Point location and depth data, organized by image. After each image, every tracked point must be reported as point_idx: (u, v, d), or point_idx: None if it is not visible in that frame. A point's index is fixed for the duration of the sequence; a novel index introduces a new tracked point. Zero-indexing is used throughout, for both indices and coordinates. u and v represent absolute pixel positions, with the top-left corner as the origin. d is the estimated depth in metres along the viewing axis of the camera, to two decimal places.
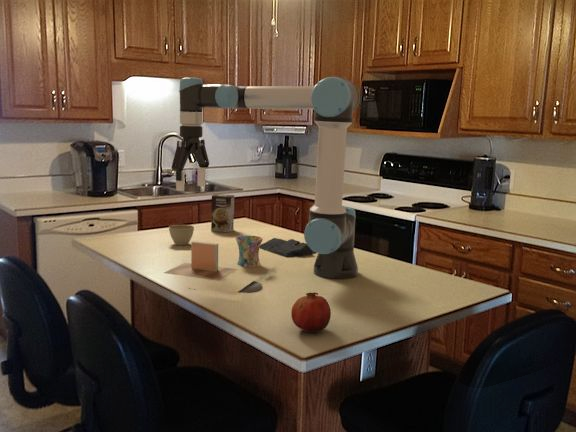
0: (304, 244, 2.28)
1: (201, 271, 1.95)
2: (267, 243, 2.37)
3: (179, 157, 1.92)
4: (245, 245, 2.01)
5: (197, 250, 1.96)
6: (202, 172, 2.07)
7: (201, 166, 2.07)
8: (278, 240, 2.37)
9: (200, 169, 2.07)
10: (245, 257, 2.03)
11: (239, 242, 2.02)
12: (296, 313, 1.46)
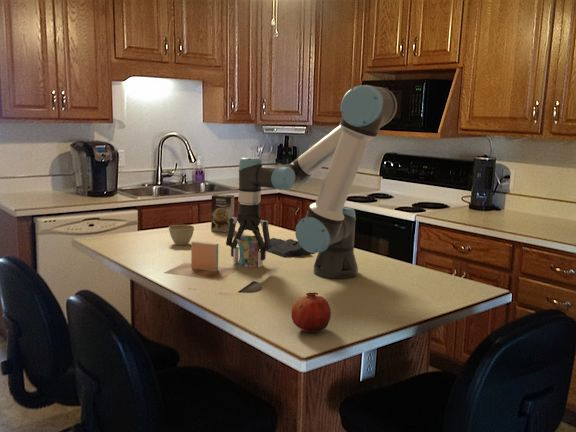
0: None
1: (201, 271, 1.95)
2: None
3: None
4: (246, 245, 2.01)
5: (197, 250, 1.96)
6: None
7: None
8: (277, 240, 2.37)
9: None
10: (246, 257, 2.03)
11: (240, 242, 2.02)
12: (296, 313, 1.46)
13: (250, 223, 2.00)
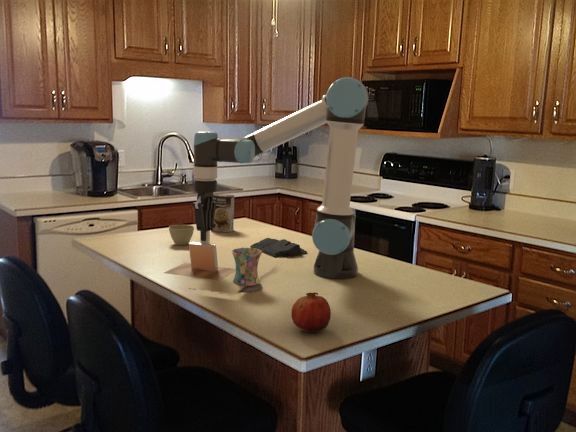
0: (293, 244, 2.26)
1: (201, 271, 1.95)
2: (259, 243, 2.37)
3: (200, 219, 1.91)
4: (242, 259, 1.80)
5: (195, 251, 1.95)
6: None
7: None
8: (270, 240, 2.37)
9: None
10: (242, 272, 1.81)
11: (236, 256, 1.81)
12: (296, 313, 1.46)
13: (212, 199, 1.95)
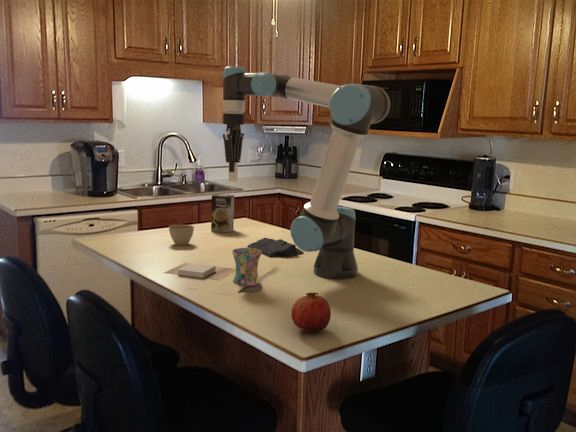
0: (289, 244, 2.26)
1: None
2: (256, 243, 2.37)
3: (229, 150, 2.02)
4: (242, 259, 1.80)
5: None
6: None
7: None
8: (267, 240, 2.36)
9: None
10: (242, 272, 1.81)
11: (236, 256, 1.81)
12: (296, 313, 1.46)
13: (240, 132, 2.06)
